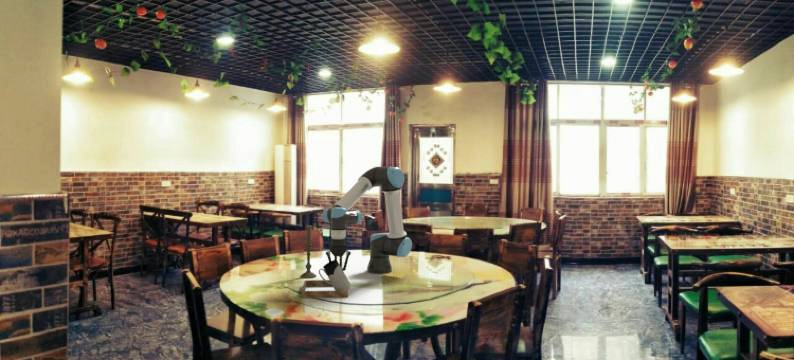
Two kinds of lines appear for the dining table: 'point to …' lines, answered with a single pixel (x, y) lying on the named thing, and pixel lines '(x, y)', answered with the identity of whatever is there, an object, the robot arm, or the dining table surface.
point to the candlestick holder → (308, 256)
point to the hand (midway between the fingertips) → (337, 284)
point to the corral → (320, 293)
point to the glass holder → (336, 276)
